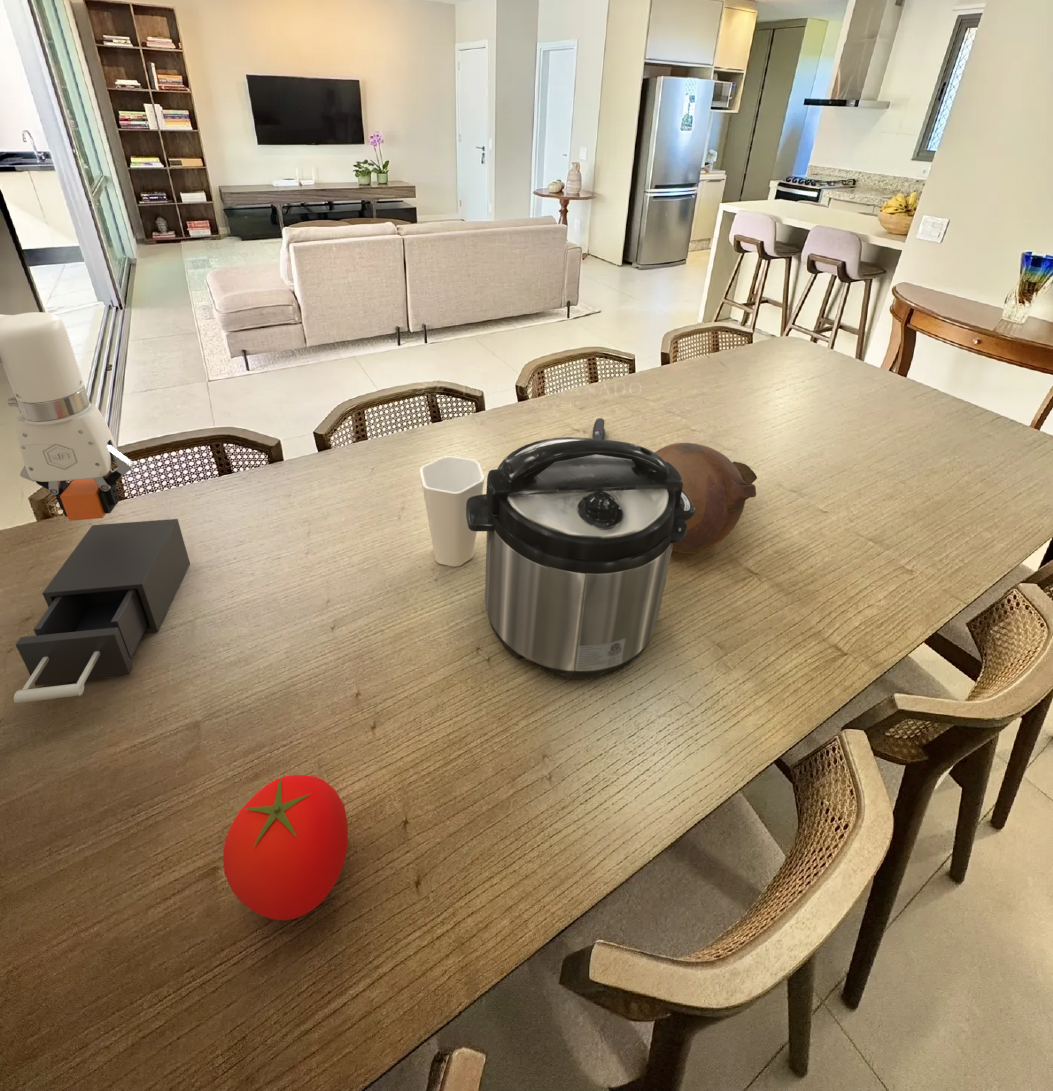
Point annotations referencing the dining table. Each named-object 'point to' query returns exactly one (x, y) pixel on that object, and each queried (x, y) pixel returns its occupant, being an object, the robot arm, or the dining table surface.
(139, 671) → the dining table surface
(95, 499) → the block
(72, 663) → the drawer
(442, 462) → the cup
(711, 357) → the dining table surface
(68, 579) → the dark grey cabinet
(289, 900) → the tomato
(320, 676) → the dining table surface
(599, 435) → the can opener
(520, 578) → the pressure cooker
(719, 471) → the jug
